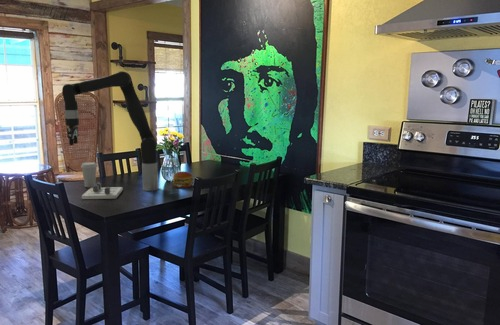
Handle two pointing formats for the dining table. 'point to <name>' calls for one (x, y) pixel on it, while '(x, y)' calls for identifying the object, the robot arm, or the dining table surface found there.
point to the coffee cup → (89, 174)
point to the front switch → (107, 190)
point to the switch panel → (102, 193)
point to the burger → (182, 180)
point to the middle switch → (96, 187)
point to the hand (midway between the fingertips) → (73, 144)
